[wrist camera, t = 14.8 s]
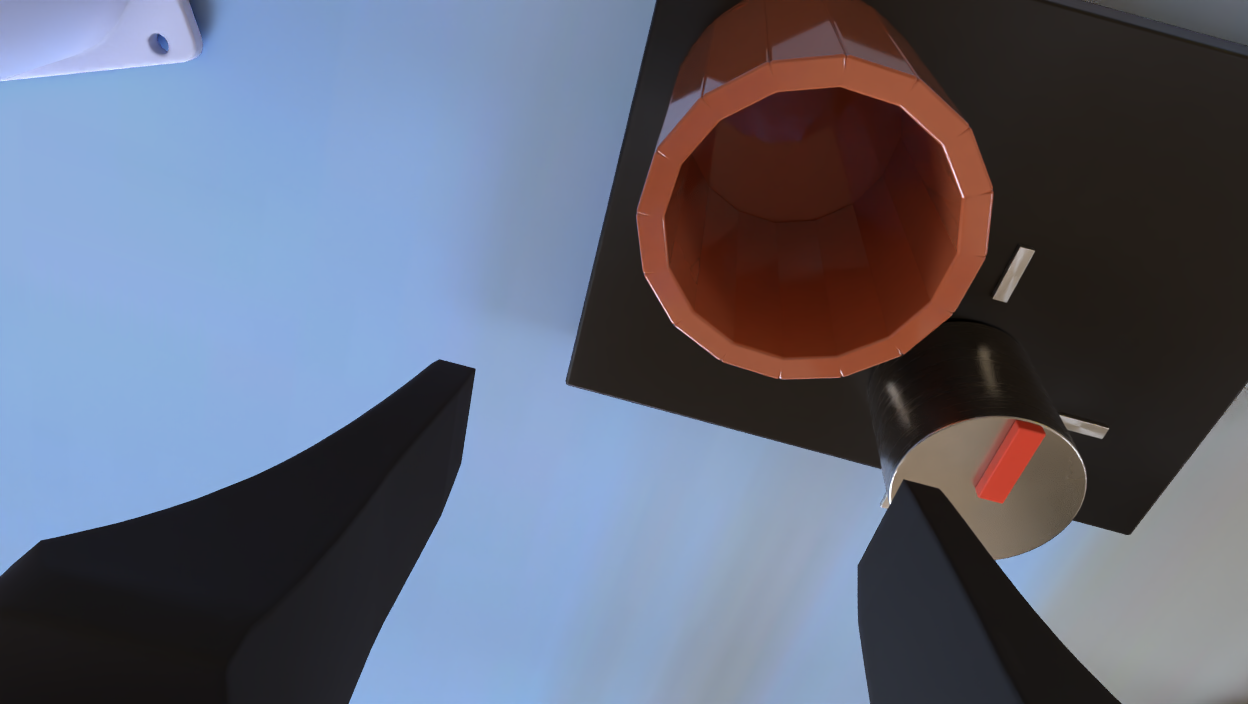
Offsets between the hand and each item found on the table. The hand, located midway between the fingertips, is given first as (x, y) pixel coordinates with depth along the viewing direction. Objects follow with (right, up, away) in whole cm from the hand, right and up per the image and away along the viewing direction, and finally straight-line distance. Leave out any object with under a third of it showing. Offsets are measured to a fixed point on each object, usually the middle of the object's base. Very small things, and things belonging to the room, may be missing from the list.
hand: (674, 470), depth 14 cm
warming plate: (+7, +5, +8) cm, 12 cm away
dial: (+7, +1, +8) cm, 11 cm away
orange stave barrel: (+3, +7, +5) cm, 9 cm away
